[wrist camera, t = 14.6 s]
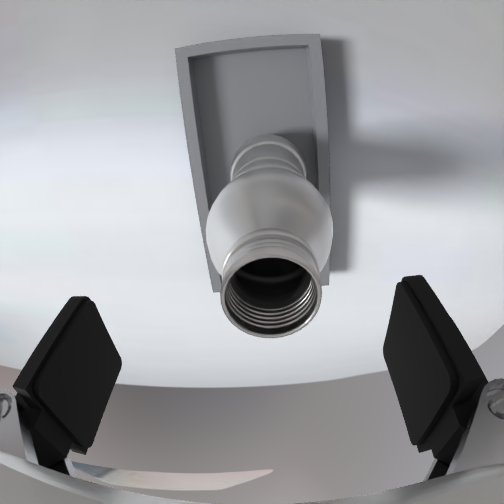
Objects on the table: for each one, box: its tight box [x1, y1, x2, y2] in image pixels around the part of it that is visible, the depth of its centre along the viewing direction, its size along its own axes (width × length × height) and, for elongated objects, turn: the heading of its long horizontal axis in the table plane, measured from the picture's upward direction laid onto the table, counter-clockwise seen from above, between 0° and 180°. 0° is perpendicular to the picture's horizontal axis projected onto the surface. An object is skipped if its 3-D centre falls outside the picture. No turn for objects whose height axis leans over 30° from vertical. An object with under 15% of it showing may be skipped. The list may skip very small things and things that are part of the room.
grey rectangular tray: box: [175, 34, 330, 292], centre depth 28 cm, size 24×12×3 cm, turn 6°
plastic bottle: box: [206, 135, 333, 338], centre depth 20 cm, size 6×7×20 cm
